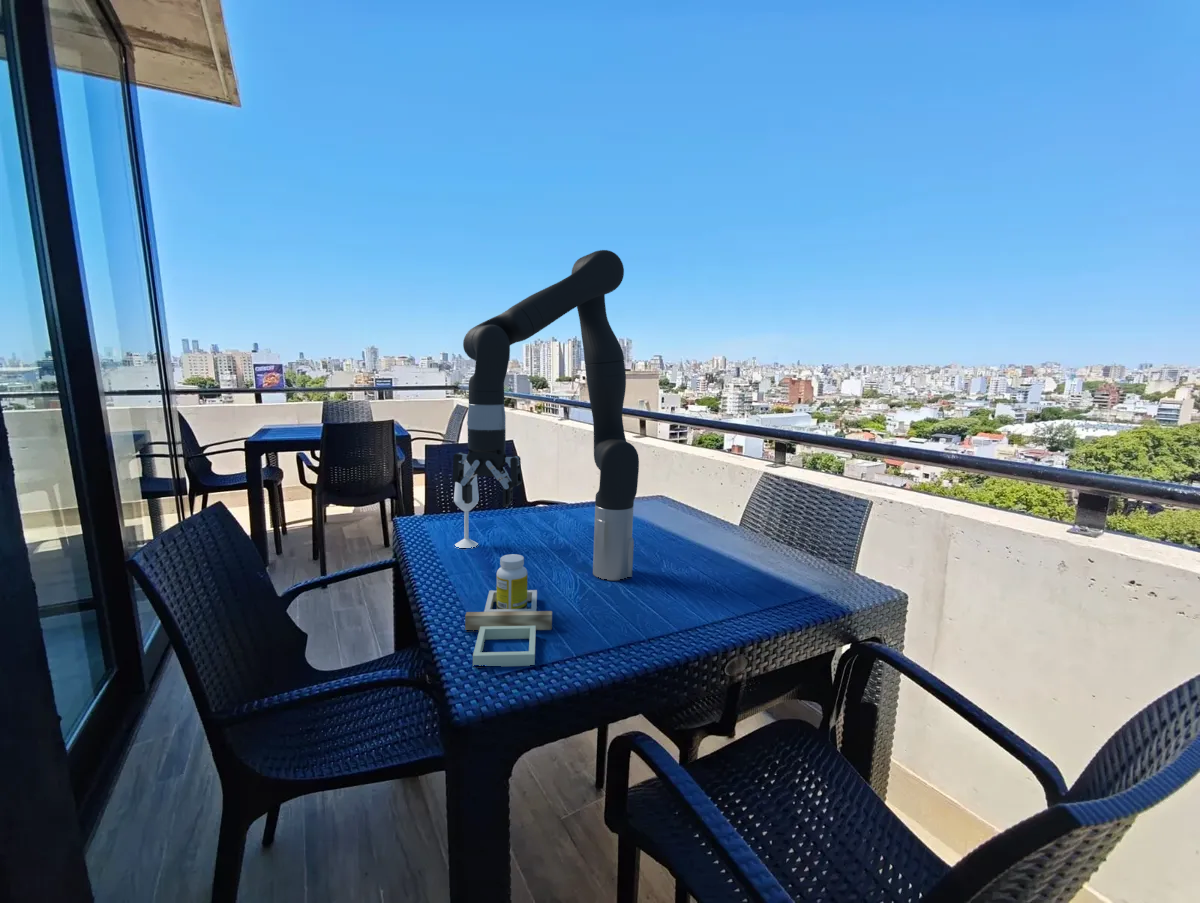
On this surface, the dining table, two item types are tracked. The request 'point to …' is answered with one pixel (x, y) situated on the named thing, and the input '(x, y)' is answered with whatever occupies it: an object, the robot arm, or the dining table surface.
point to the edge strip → (509, 619)
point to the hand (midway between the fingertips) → (487, 504)
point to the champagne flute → (466, 508)
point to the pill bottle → (512, 583)
